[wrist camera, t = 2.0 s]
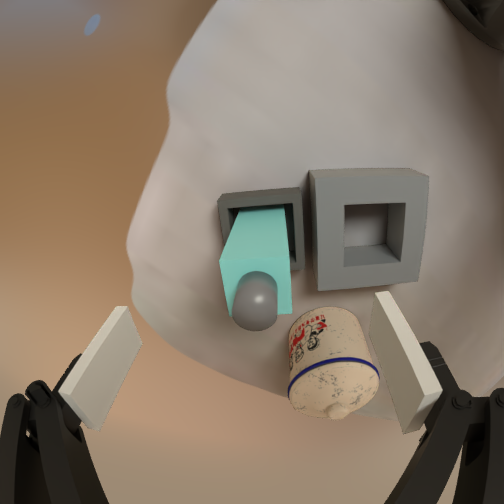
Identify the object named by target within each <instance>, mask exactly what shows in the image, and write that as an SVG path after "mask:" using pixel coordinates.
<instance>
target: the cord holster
mask: <svg viewBox="0 0 504 504" xmlns="http://www.w3.org/2000/svg"><path fill="white" fill-rule="evenodd" d="M217 202H218V209H219V215H220V222H221V228H222V234H223V241H224V247H225V245H226V242H227V240H228V237H229V235H230V232H231V230H232V227H233V225H234V216H233V208H236V207H247V206H259V205H271V204H284V203H292V212H293V228H294V244H295V251H289V260H290V270H302V269H305V253H304V230H303V211H302V194H301V191H300V189H299V187H295V188H281V189H269V190H257V191H246V192H236V193H226V194H222V195H221V196H220V198H219V199H218V200H217Z"/></svg>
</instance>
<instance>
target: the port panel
mask: <svg viewBox="0 0 504 504" xmlns="http://www.w3.org/2000/svg"><path fill="white" fill-rule="evenodd" d="M309 180H310V197H311V217H312V245H313V272H314V276H315V281H316V285H317V289H318V291H327V290H339V289H350V288H361V287H371V286H381V285H390V284H399V283H408V282H416V281H418V277H419V272H420V266H421V259H422V252H423V245H424V237H425V228H426V218H427V206H428V189H429V176H427V175H425V174H422V173H420V172H417V171H415V170H412V169H410V168H355V169H325V170H309ZM374 203H389V206H388V227H387V241H386V244H385V245H371V246H357V247H344V205H351V204H374Z"/></svg>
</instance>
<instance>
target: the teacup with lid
mask: <svg viewBox="0 0 504 504" xmlns="http://www.w3.org/2000/svg"><path fill="white" fill-rule="evenodd" d="M289 365H290V385H289V387H288V398H289V400H290V402H291V404H292V405H293V408H294V409H296V410H298V411H299V412H301V413H302V414H305V415H308V416H311V417H317V418H330V419H332V420H340V419H343V418H345V417H346V416H347V415H348V414H349V413H351V412H353V411H356V410H357V409H359V408H361V407H362V406H364V405H365V404H367V403H368V402H369V401H370V400H371V399H372V398H373V396H374V395H375V393H376V391H377V389H378V386H379V373H378V370H377V369H376V367H375V366H374V365H373V362H372V359H371V356H370V353H369V350H368V347H367V344H366V341H365V338H364V335H363V332H362V329H361V326H360V324H359V321H358V320H357V318H356V317H355V316H354V315H353V314H352V313H351V312H349V311H347V310H345V309H342V308H338V307H322V308H318V309H314V310H312V311H309V312H308V313H306V314H304V315H303V316H301V317H300V318H299V319H298V320H297V321H296V322H295V323H294V325H293V326H292V328H291V330H290V333H289Z"/></svg>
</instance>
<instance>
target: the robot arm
mask: <svg viewBox="0 0 504 504" xmlns="http://www.w3.org/2000/svg"><path fill="white" fill-rule="evenodd" d="M443 1H444V2H445V3H446V5H447V6H448V7H449V9H450V10H451V11H452V12H453V14H454V15H455V16H456V17H457V18H458V19H459V20H460V21H461V23H462V24H463V25H464V26H465V27H466V28H467V29H469V30H470V31H471V32H472V33H473V34H474V35H475V36H477V37H478V38H479V39H480V40H482V41H483V42H485V43H486V44H488V45H490V46H491V47H494V48H496V49H499V50H504V0H443ZM369 336H370V339H371V341H372V344H373V346H374V349H375V352H376V354H377V357H378V360H379V362H380V365H381V368H382V371H383V374H384V376H385V379H386V382H387V385H388V388H389V391H390V394H391V397H392V400H393V403H394V406H395V409H396V412H397V415H398V419H399V422H400V425H401V428H402V432H403V434H406V433H409V432H413V431H417V430H419V429H420V428H421V426H422V425H423V423H424V424H425V426H426V429H427V430H426V431H425V433H424V434H423V436H422V437H421V438H420V440H419V441H420V443H419V445H418V447H417V449H416V451H415V453H414V455H413V457H412V459H411V460H410V462H409V464H408V466H407V468H406V470H405V471H404V473H403V475H402V476H401V478H400V480H399V482H398V483H397V485H396V486H395V488H394V489H393V491H392V492H391V494H390V495H389V497H388V499H387V500H386V501H385V503H384V504H436V503H437V502H438V500H439V498H440V496H441V494H442V492H443V490H444V488H445V486H446V484H447V481H448V479H449V477H450V475H451V472H452V470H453V468H454V465H455V463H456V461H457V458H458V455H459V453H460V450H461V448H462V445H463V448H462V456H461V463H460V469H459V476H458V480H457V486H456V490H455V495H454V499H453V503H452V504H504V388H497V389H496V390H494V391H493V392H492V394H491V395H490V397H472V396H471V394H470V393H468V392H467V391H465V390H460V388H459V387H458V385H457V383H456V381H455V379H454V377H453V376H452V374H451V372H450V370H449V368H448V366H447V364H445V361H444V359H443V358H442V356H441V354H440V352H439V350H438V349H437V347H435V346H434V345H433V344H432V343H431V342H429V341H428V342H424V343H418V341H417V339H416V337H415V335H414V333H413V332H412V330H411V328H410V326H409V325H408V323H407V321H406V319H405V318H404V316H403V314H402V312H401V311H400V309H399V307H398V306H397V304H396V302H395V301H394V299H393V297H392V296H391V294H390V293H389V291H384V292H375V296H374V303H373V310H372V317H371V324H370V330H369ZM141 346H142V341H141V339H140V336H139V334H138V331H137V329H136V327H135V324H134V322H133V319H132V316H131V314H130V311H129V309H128V307H127V306H117V307H116V308H115V309H114V311H113V312H112V313H111V315H110V316H109V317H108V319H107V320H106V321H105V323H104V324H103V326H102V327H101V328H100V330H99V331H98V333H97V334H96V335H95V337H94V338H93V340H92V341H91V342H90V344H89V345H88V347H87V348H86V350H85V351H84V353H83V354H79V355H78V356H77V357H76V358H74V359H73V361H72V362H71V363H70V365H69V368H67V369H66V371H65V373H64V374H63V376H62V377H61V378H60V380H59V381H58V383H57V385H56V386H55V388H54V389H53V391H51V390H50V389H49V387H48V386H47V385H46V383H45V382H44V381H41V380H37V381H34V382H32V383H31V384H30V385H29V386H28V387H27V389H26V391H25V395H26V396H27V397H28V398H29V399H30V400H27V399H26V398H25V397H24V395H22V394H19V393H18V394H15V395H13V396H12V397H11V398H10V399H9V401H8V403H7V407H6V411H5V415H4V420H3V425H2V430H1V435H0V504H109V502H108V500H107V498H106V496H105V493H104V491H103V488H102V486H101V483H100V481H99V479H98V476H97V473H96V471H95V468H94V465H93V462H92V459H91V456H90V453H89V450H88V447H87V444H86V440H85V437H84V433H83V430H82V428H81V427H80V426H79V425H80V423H81V421H82V422H83V423H84V424H85V425H86V426H87V428H90V429H93V430H97V431H100V430H101V427H102V425H103V423H104V421H105V419H106V417H107V414H108V412H109V410H110V408H111V406H112V404H113V402H114V400H115V398H116V396H117V393H118V391H119V389H120V387H121V385H122V383H123V381H124V379H125V377H126V375H127V373H128V371H129V369H130V367H131V365H132V363H133V361H134V359H135V357H136V355H137V353H138V351H139V350H140V348H141ZM26 431H28V432H29V433H30V435H29V437H28V436H27V435H26Z"/></svg>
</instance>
